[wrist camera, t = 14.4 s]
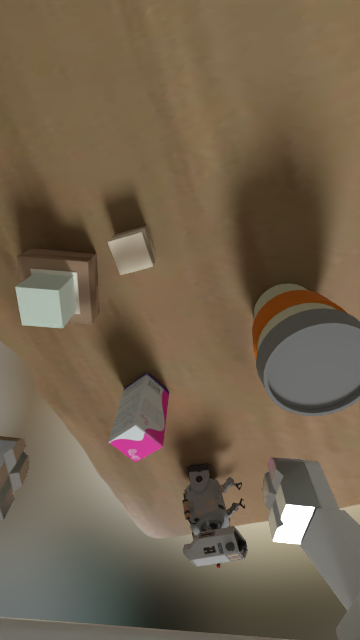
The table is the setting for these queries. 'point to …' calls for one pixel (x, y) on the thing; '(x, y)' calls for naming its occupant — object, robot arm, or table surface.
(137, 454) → the supplement box
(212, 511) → the figurine
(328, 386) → the reusable coffee cup
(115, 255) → the block
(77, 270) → the walnut base
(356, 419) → the table surface
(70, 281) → the sage block
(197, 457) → the table surface
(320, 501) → the robot arm
